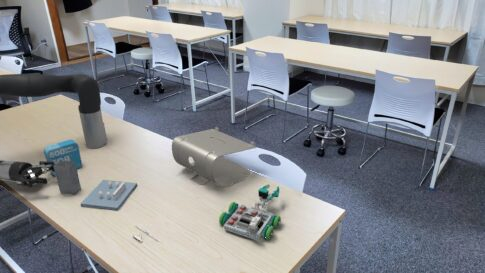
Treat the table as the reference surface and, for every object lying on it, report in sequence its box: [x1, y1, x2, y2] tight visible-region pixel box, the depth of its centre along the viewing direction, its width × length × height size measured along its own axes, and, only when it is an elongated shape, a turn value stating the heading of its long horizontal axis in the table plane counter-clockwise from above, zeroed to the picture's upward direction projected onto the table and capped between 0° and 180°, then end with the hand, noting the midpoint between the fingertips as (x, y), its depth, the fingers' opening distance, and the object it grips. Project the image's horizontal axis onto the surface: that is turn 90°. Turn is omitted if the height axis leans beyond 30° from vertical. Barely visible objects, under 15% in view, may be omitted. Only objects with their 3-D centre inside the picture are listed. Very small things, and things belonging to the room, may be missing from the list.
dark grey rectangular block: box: [54, 160, 82, 196], centre depth 138 cm, size 4×6×12 cm, turn 80°
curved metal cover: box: [171, 126, 256, 187], centre depth 150 cm, size 26×24×16 cm
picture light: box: [132, 224, 162, 244], centre depth 118 cm, size 14×4×2 cm, turn 51°
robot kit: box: [218, 184, 282, 241], centre depth 125 cm, size 19×25×9 cm
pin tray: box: [80, 179, 138, 212], centre depth 137 cm, size 16×14×4 cm
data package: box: [43, 139, 83, 177], centre depth 152 cm, size 12×4×12 cm, turn 132°
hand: (54, 175), depth 139 cm, fingers open, 8 cm apart
